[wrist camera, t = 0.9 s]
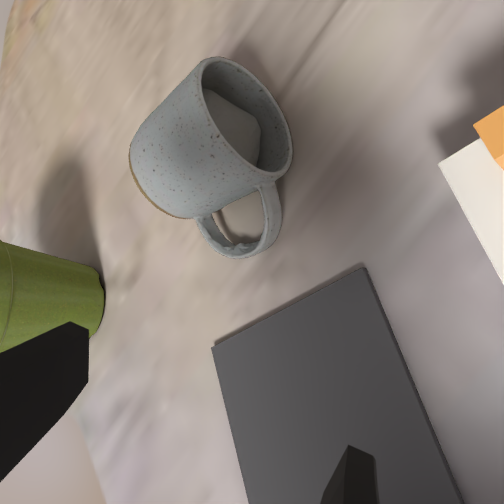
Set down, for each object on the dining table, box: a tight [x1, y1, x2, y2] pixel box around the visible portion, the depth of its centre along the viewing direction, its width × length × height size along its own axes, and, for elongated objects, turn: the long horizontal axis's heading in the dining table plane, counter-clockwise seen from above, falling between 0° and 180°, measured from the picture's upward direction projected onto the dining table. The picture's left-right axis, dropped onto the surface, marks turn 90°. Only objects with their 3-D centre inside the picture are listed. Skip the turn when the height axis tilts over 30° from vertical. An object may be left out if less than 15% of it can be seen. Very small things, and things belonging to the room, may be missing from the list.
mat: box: [211, 267, 464, 504], centre depth 24 cm, size 17×12×1 cm
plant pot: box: [0, 240, 104, 353], centre depth 38 cm, size 12×12×11 cm
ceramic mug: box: [129, 57, 293, 259], centre depth 28 cm, size 11×8×8 cm
